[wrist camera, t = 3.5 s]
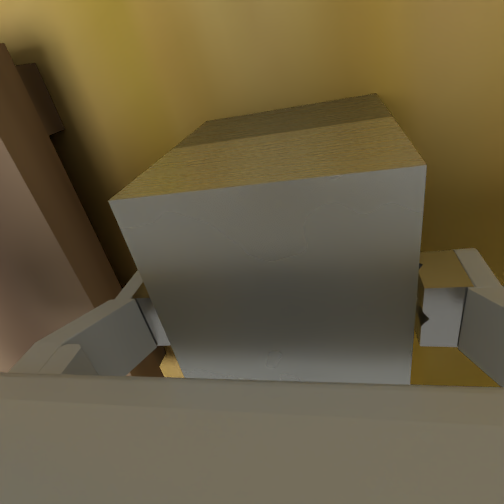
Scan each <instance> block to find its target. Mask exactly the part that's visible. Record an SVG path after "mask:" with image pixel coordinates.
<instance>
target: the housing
mask: <svg viewBox="0 0 504 504" xmlns="http://www.w3.org/2000/svg"><path fill="white" fill-rule="evenodd" d="M426 170H427V164H426V163H425V162H424V160H423V159H422V157H421V156H420V155H419V153H418V152H417V150H416V149H415V148H414V146H413V145H412V143H411V142H410V140H409V139H408V138H407V136H406V135H405V133H404V132H403V131H402V129H401V128H400V126H399V125H398V124H397V122H396V121H395V119H394V118H393V116H392V115H391V114H390V112H389V111H388V109H387V108H386V107H385V105H384V104H383V102H382V101H381V100H380V98H379V97H378V95H377V94H370V95H364V96H358V97H351V98H345V99H339V100H333V101H327V102H321V103H315V104H309V105H303V106H297V107H291V108H285V109H279V110H273V111H266V112H260V113H254V114H248V115H242V116H236V117H230V118H224V119H218V120H212V121H206V122H205V123H204V124H203V125H202V126H200V127H199V128H198V129H197V130H195V131H194V132H193V133H192V134H190V135H189V136H188V137H187V138H185V139H184V140H183V141H182V142H180V143H179V144H178V145H177V146H175V147H174V148H173V149H172V150H170V151H169V152H168V153H167V154H165V155H164V156H163V157H162V158H160V159H159V160H158V161H157V162H156V163H154V164H153V165H152V166H151V167H149V168H148V169H147V170H146V171H144V172H143V173H142V174H141V175H139V176H138V177H137V178H136V179H134V180H133V181H132V182H131V183H129V184H128V185H127V186H126V187H124V188H123V189H122V190H121V191H119V192H118V193H117V194H116V195H114V196H113V197H112V198H111V199H110V200H108V202H109V204H110V207H111V209H112V211H113V213H114V216H115V218H116V220H117V223H118V225H119V227H120V230H121V232H122V234H123V236H124V239H125V241H126V243H127V246H128V248H129V250H130V253H131V255H132V257H133V260H134V262H135V264H136V266H137V269H138V271H139V273H140V276H141V278H142V280H143V283H144V285H145V287H146V289H147V292H148V294H149V296H150V299H151V301H152V303H153V306H154V308H155V310H156V312H157V315H158V317H159V319H160V322H161V324H162V326H163V329H164V331H165V333H166V336H167V338H168V340H169V342H170V345H171V347H172V349H173V352H174V354H175V356H176V359H177V361H178V363H179V365H180V368H181V370H182V372H183V375H184V377H185V378H206V379H241V380H276V381H311V382H343V383H375V384H407V385H410V377H411V364H412V351H413V338H414V325H415V312H416V299H417V286H418V273H419V260H420V247H421V234H422V221H423V209H424V196H425V183H426Z"/></svg>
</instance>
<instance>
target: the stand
mask: <svg viewBox="0 0 504 504" xmlns="http://www.w3.org/2000/svg"><path fill="white" fill-rule="evenodd" d="M64 129H65V128H64V126H63V124H62V122H61V119H60V117H59V115H58V113H57V111H56V108H55V106H54V104H53V102H52V100H51V97H50V95H49V93H48V91H47V88H46V86H45V84H44V82H43V80H42V77H41V75H40V73H39V71H38V68H37V66H36V64H35V63H32V64H25V65H17V66H15V65H14V63H13V61H12V58H11V56H10V54H9V52H8V50H7V48H6V46H5V44H4V43H0V372H6V373H8V372H9V370H10V369H11V368H12V367H13V366H14V365H15V364H16V363H17V362H18V361H19V360H20V359H21V358H22V356H23V355H24V354H25V353H26V352H27V351H28V350H29V349H30V348H31V347H32V346H33V345H34V343H35V342H37V341H39V340H41V339H42V338H44V337H46V336H48V335H49V334H51V333H53V332H55V331H56V330H58V329H60V328H62V327H63V326H65V325H67V324H69V323H70V322H72V321H74V320H76V319H77V318H79V317H81V316H82V315H84V314H86V313H88V312H89V311H91V310H93V309H95V308H96V307H98V306H100V305H102V304H103V303H105V302H107V301H109V300H114V299H115V298H116V297H117V296H118V294H119V293H120V292H121V291H122V288H121V286H120V284H119V282H118V280H117V278H116V276H115V273H114V271H113V269H112V267H111V265H110V263H109V261H108V259H107V257H106V255H105V253H104V250H103V248H102V246H101V244H100V242H99V240H98V238H97V236H96V234H95V232H94V230H93V228H92V225H91V223H90V221H89V219H88V217H87V215H86V213H85V211H84V209H83V207H82V205H81V202H80V200H79V198H78V196H77V194H76V192H75V190H74V188H73V186H72V184H71V182H70V180H69V177H68V175H67V173H66V171H65V169H64V167H63V165H62V163H61V161H60V159H59V157H58V154H57V152H56V150H55V148H54V146H53V144H52V142H51V140H50V138H49V135H51V134H54V133H56V132H59V131H61V130H64ZM165 354H166V352H165V350H164V348H163V346H157V348H156V349H154V350H153V351H152V352H151V353H150V354H149V355H148V356H147V357H146V358H145V359H143V360H142V361H141V362H140V363H139V364H138V365H137V366H136V367H135V368H134V369H133V370H131V371H130V372H129V373H128V374H127V375H126V376H138V377H164V376H163V374H162V372H161V369H160V367H159V366H160V364H161V362H162V360H163V358H164V356H165Z"/></svg>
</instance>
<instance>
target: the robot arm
mask: <svg viewBox="0 0 504 504" xmlns="http://www.w3.org/2000/svg"><path fill="white" fill-rule="evenodd" d="M414 328H415V332H416V335H417V338H418V342H419V345H420V346H435V347H458V349H459V350H460V351H461V352H462V353H463V354H464V355H466V356H467V357H468V358H469V359H470V360H471V361H472V362H473V363H475V364H476V365H477V366H478V367H479V368H480V369H481V370H483V371H484V372H485V373H486V374H487V375H488V376H489V377H491V378H492V379H493V380H494V381H495V382H496V383H497V384H499V385H500V386H501V387H472V386H439V385H407V384H375V383H343V382H311V381H276V380H241V379H206V378H171V377H138V376H126V375H127V374H128V373H129V372H130V371H131V370H133V369H134V368H135V367H136V366H137V365H138V364H139V363H140V362H141V361H142V360H143V359H145V358H146V357H147V356H148V355H149V354H150V353H151V352H152V351H153V350H154V349H156V348H157V346H167V345H170V342H169V340H168V338H167V336H166V333H165V331H164V329H163V326H162V324H161V322H160V319H159V317H158V315H157V312H156V310H155V308H154V306H153V303H152V301H151V299H150V296H149V294H148V292H147V289H146V287H145V285H144V283H143V280H142V278H141V276H140V273H139V271H138V270H137V271H136V273H135V274H134V275H133V277H132V278H131V279H130V280H129V282H128V283H127V284H126V285H125V287H124V288H123V289H122V291H121V292H120V293H119V294H118V296H117V297H116V298H115V299H114V300H109V301H107V302H105V303H103V304H102V305H100V306H98V307H96V308H95V309H93V310H91V311H89V312H88V313H86V314H84V315H82V316H81V317H79V318H77V319H76V320H74V321H72V322H70V323H69V324H67V325H65V326H63V327H62V328H60V329H58V330H56V331H55V332H53V333H51V334H49V335H48V336H46V337H44V338H42V339H41V340H39V341H37V342H35V343H34V345H33V346H32V347H31V348H30V349H29V350H28V351H27V352H26V353H25V354H24V355H23V356H22V358H21V359H20V360H19V361H18V362H17V363H16V364H15V365H14V366H13V367H12V368H11V369H10V370H9V372H8V373H6V372H0V504H504V286H502V285H501V284H500V282H499V281H498V279H497V278H496V276H495V275H494V274H493V272H492V271H491V269H490V268H489V266H488V265H487V263H486V262H485V260H484V259H483V258H482V256H481V255H480V253H479V252H478V250H477V249H475V248H464V249H453V250H443V251H431V252H420V260H419V273H418V286H417V299H416V312H415V325H414Z"/></svg>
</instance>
